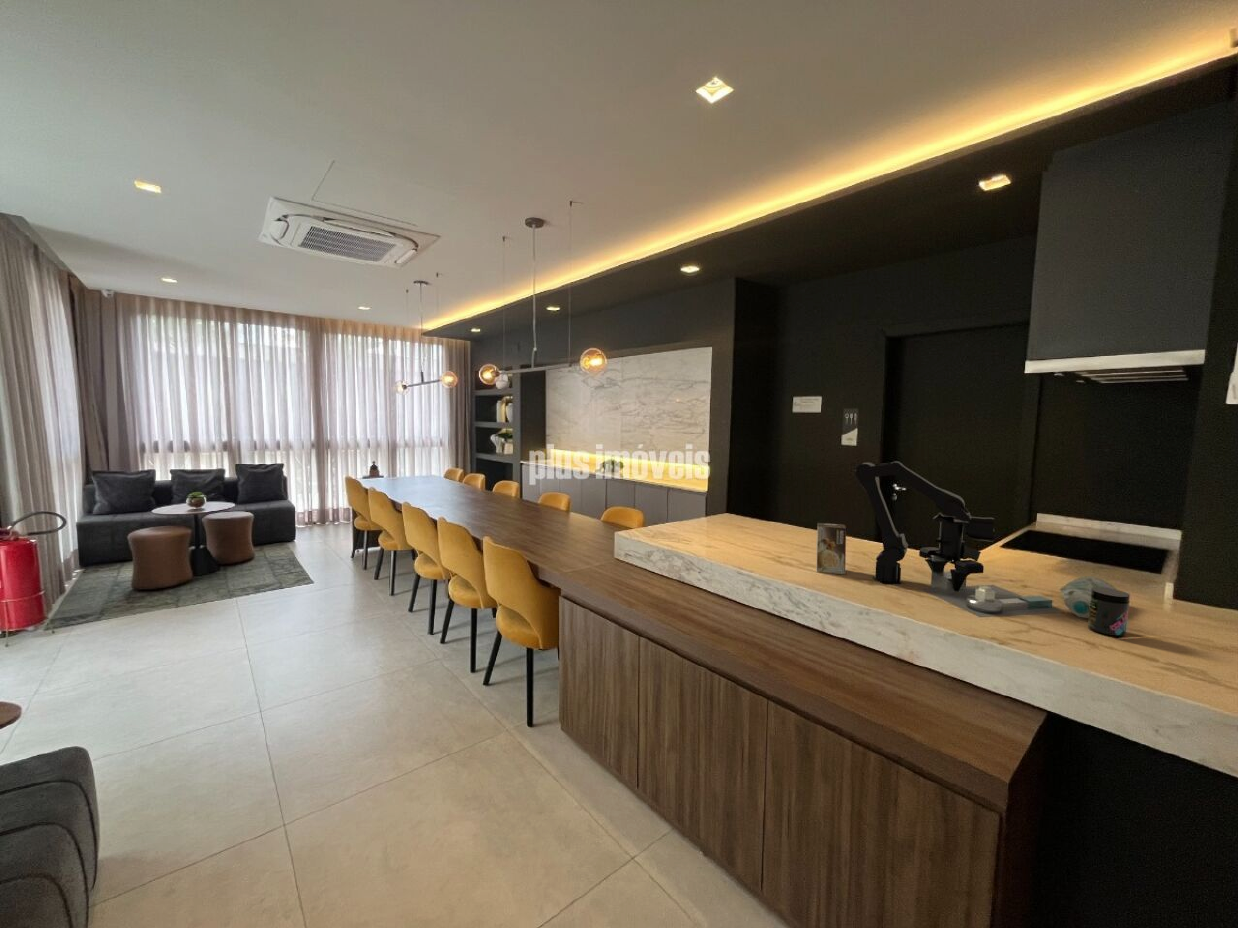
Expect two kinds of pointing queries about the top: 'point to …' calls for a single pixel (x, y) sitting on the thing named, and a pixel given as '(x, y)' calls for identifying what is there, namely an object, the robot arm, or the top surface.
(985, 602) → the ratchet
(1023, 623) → the top surface
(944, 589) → the grey block
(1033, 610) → the tool mat
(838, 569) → the coffee box
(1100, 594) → the supplement container
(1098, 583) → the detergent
